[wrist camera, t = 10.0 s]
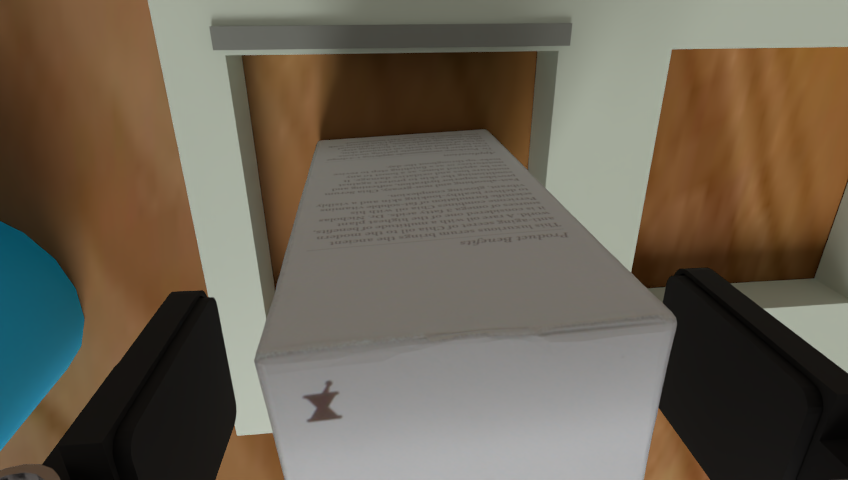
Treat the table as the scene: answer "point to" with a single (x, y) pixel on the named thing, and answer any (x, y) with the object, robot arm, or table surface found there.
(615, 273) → the skincare box
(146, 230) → the table surface
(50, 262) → the mug
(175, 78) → the socket board
